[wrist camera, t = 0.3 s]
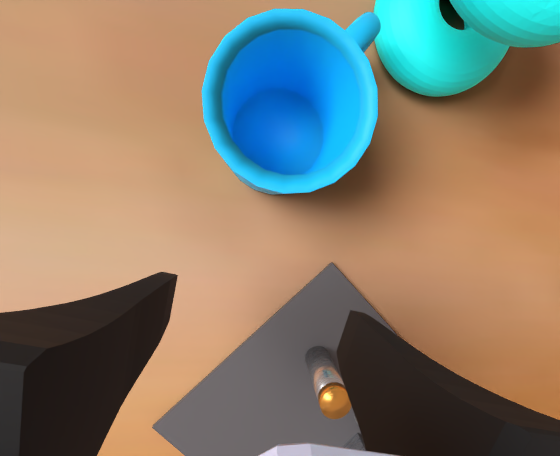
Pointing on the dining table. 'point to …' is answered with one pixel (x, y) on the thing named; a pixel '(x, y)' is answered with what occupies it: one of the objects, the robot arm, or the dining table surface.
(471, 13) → the donuts
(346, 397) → the pin
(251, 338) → the mat
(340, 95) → the mug
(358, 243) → the dining table surface
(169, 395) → the dining table surface
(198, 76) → the dining table surface
